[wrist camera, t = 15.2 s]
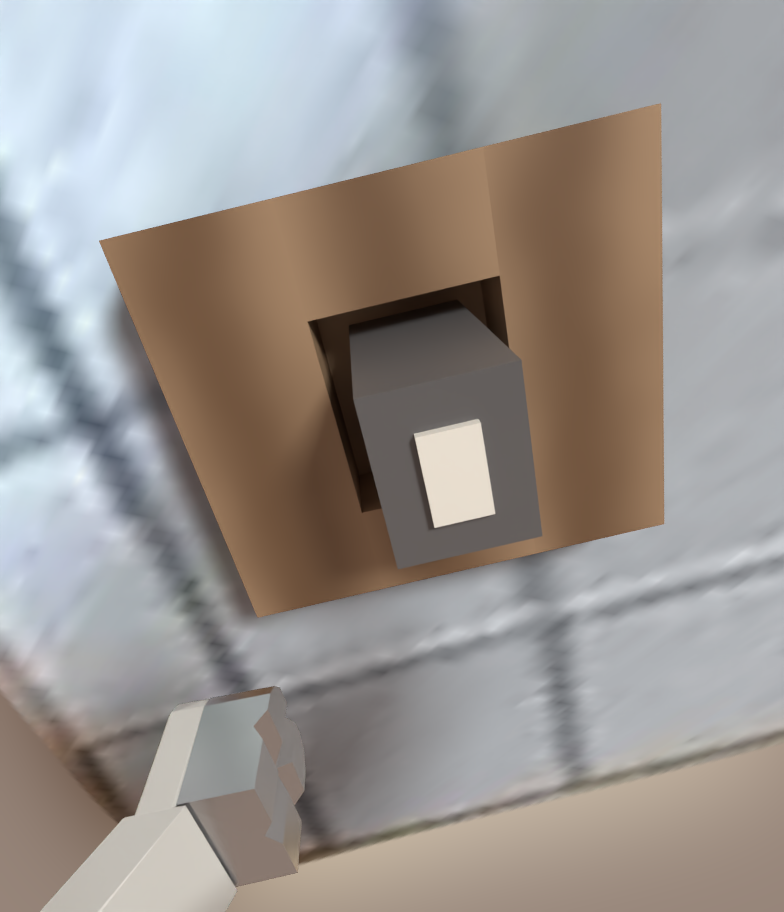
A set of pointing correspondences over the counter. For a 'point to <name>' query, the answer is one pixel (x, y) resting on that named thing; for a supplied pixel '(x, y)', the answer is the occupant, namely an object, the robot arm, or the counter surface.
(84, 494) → the counter surface
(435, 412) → the block
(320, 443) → the dock
